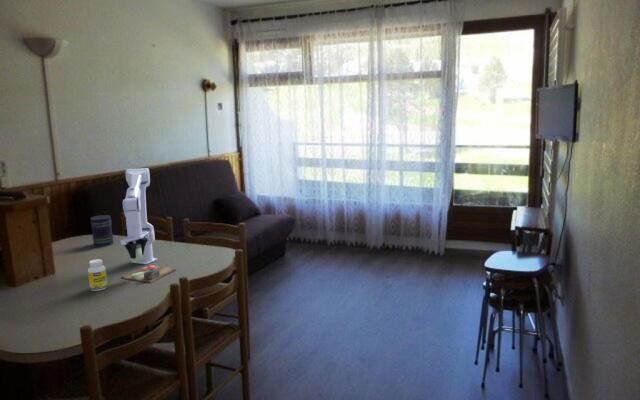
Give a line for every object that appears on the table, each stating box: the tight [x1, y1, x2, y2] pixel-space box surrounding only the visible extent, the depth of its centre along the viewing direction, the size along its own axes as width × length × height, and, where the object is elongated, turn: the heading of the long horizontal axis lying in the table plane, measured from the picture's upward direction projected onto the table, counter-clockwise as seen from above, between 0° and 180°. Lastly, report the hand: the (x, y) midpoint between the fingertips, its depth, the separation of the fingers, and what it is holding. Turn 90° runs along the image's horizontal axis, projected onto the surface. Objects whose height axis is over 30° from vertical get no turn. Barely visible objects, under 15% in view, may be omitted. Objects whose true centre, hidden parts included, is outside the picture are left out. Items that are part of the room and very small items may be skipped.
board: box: [120, 264, 177, 283], centre depth 204 cm, size 16×16×3 cm
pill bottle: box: [87, 258, 108, 292], centre depth 188 cm, size 6×6×12 cm
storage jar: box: [90, 214, 114, 248], centre depth 249 cm, size 10×10×15 cm
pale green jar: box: [131, 243, 143, 262], centre depth 200 cm, size 4×4×7 cm
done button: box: [146, 264, 156, 271], centre depth 198 cm, size 3×3×2 cm
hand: (137, 256), depth 200 cm, fingers closed on pale green jar, 4 cm apart
